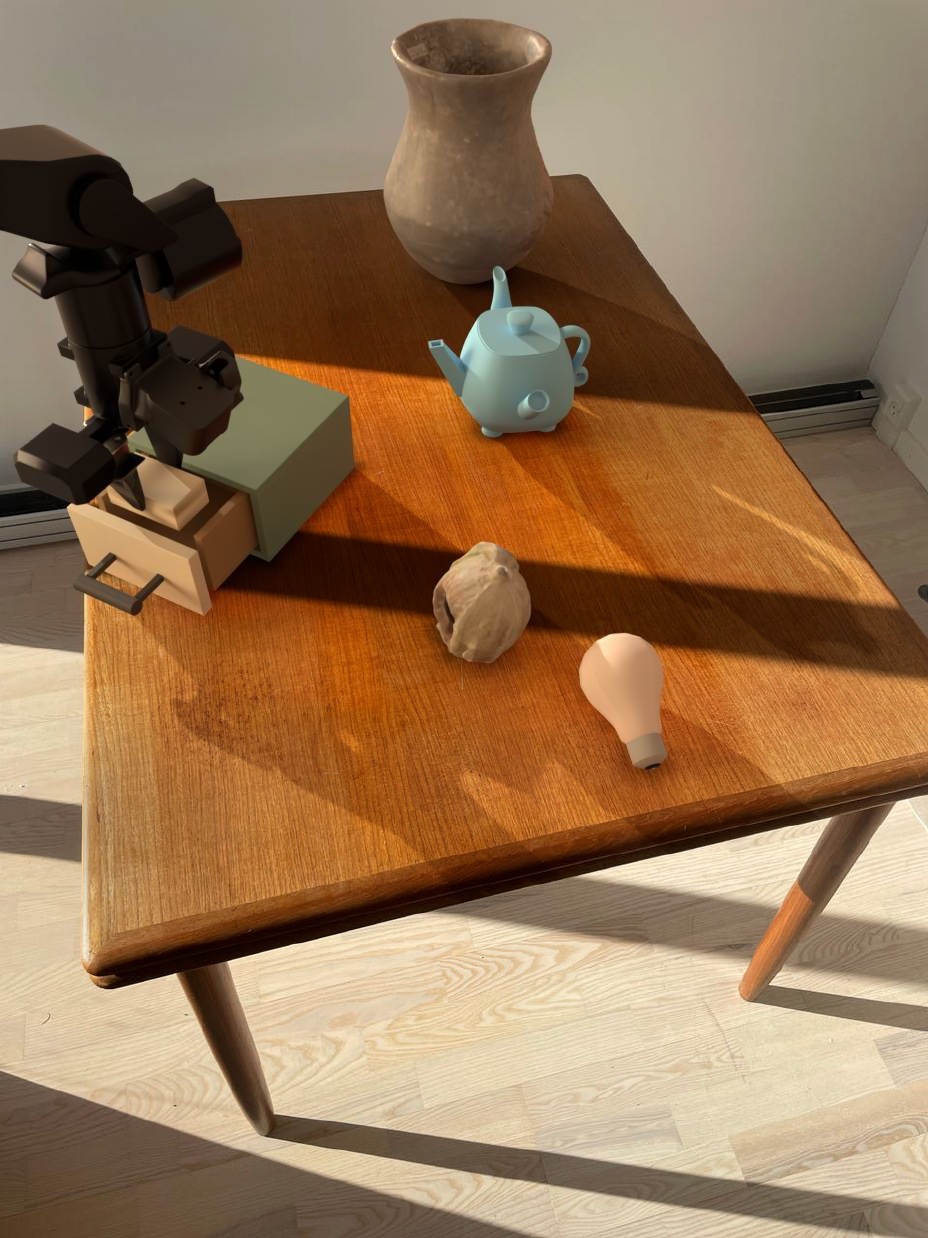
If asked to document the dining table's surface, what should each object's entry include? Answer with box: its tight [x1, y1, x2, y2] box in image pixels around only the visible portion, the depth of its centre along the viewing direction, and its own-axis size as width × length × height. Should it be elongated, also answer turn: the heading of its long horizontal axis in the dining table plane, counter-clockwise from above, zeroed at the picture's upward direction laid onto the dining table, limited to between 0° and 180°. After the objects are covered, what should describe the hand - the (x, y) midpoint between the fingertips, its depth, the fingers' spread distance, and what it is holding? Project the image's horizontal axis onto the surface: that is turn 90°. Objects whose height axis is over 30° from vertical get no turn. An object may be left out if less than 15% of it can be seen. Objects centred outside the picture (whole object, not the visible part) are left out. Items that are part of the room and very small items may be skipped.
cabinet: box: [127, 355, 356, 563], centre depth 89 cm, size 15×14×9 cm
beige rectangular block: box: [106, 452, 209, 531], centre depth 79 cm, size 7×4×2 cm, turn 63°
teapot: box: [427, 266, 591, 438], centre depth 97 cm, size 15×14×11 cm
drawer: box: [66, 452, 259, 617], centre depth 83 cm, size 18×12×7 cm
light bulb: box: [578, 632, 669, 771], centre depth 74 cm, size 7×7×11 cm
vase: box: [383, 17, 555, 285], centre depth 109 cm, size 20×19×25 cm
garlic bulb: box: [432, 541, 532, 664], centre depth 78 cm, size 9×8×10 cm
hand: (156, 492), depth 79 cm, fingers closed on beige rectangular block, 4 cm apart
